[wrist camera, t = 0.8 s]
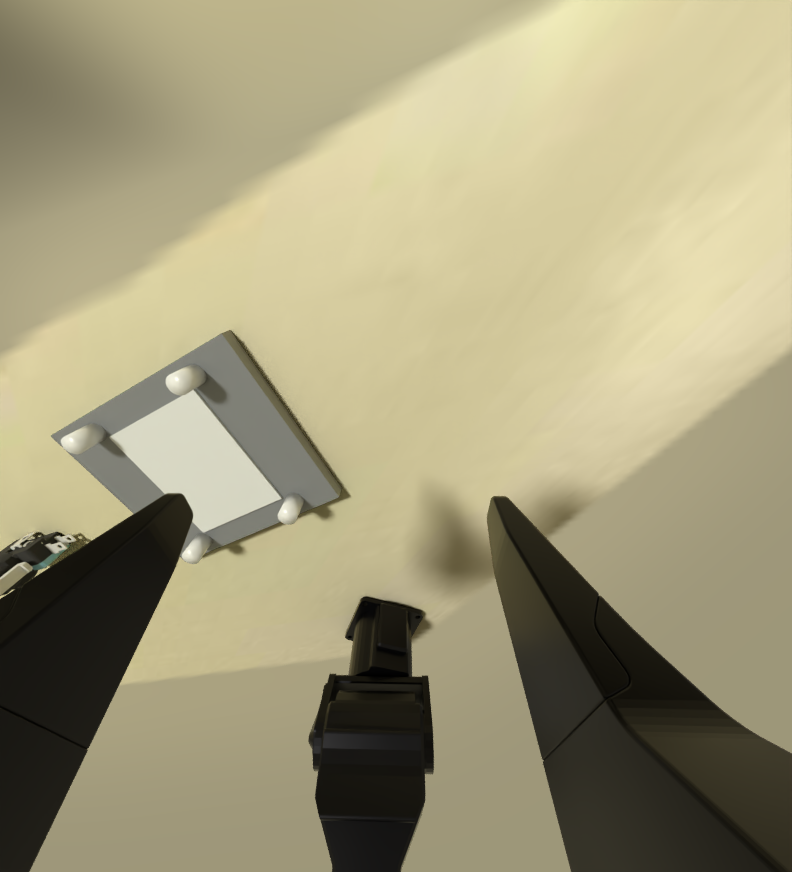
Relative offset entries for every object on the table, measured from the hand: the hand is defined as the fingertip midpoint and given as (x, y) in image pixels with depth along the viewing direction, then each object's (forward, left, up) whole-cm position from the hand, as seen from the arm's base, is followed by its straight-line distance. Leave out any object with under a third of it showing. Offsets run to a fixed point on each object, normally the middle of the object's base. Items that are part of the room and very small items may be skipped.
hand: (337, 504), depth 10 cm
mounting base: (-11, +10, -15) cm, 21 cm away
